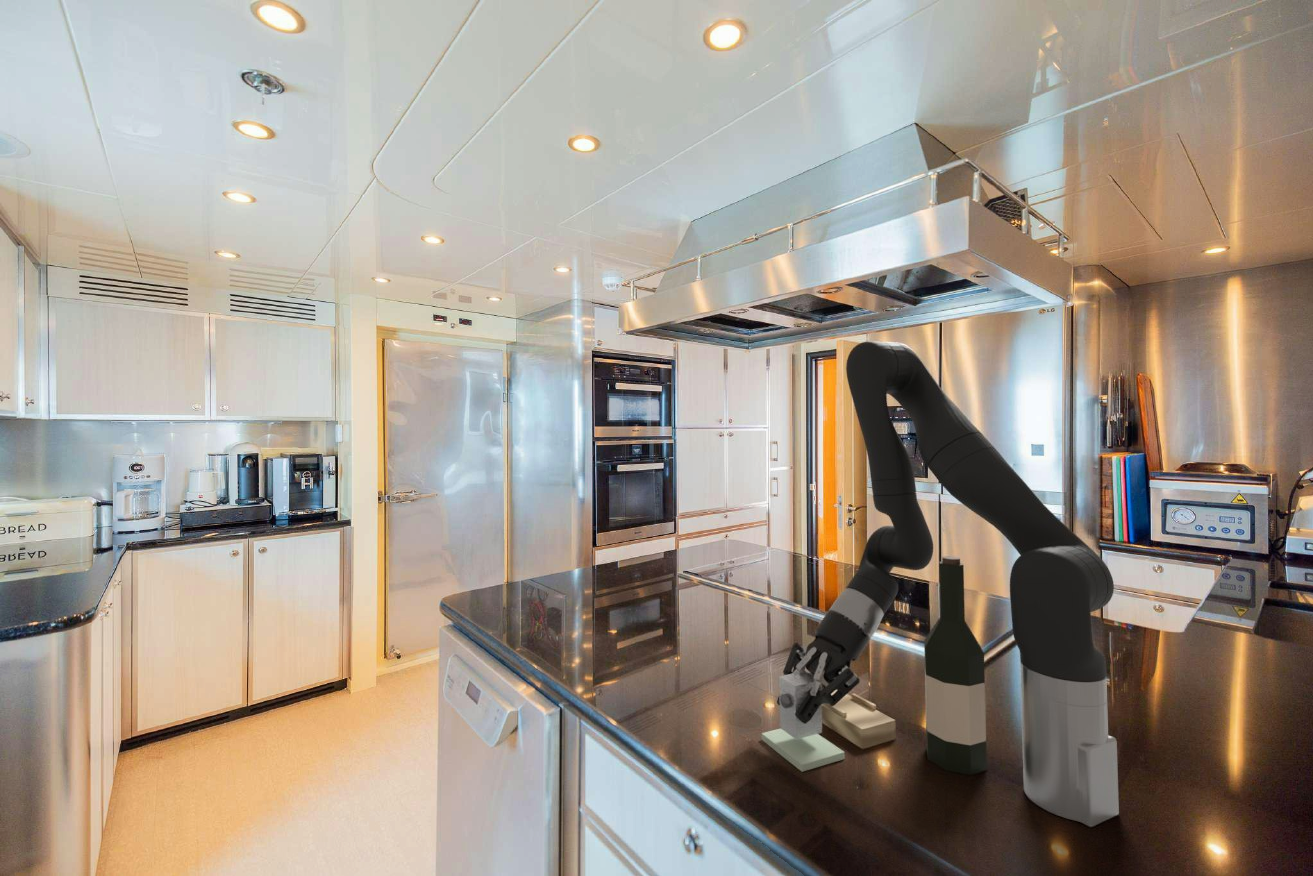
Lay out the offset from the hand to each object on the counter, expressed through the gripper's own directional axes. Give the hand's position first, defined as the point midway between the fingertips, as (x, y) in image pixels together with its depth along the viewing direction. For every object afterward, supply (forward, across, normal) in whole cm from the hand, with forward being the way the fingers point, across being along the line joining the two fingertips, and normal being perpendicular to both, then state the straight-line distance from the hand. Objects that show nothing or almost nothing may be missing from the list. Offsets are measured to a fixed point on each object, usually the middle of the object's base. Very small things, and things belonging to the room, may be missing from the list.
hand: (790, 713), depth 86 cm
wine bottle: (-10, +12, +19) cm, 25 cm away
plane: (-6, -4, +14) cm, 16 cm away
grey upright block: (+1, 0, +4) cm, 4 cm away
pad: (+3, 0, +5) cm, 6 cm away
